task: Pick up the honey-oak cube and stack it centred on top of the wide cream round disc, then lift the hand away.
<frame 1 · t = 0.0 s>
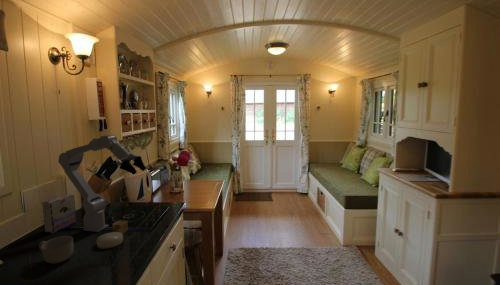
hand: (140, 171, 132), 32 cm above the counter, tool tilted 50°, fingers open, 7 cm apart
oak cube: (120, 231, 137), on the counter
teacup: (56, 259, 112), on the counter
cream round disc: (110, 243, 126), on the counter
candy box: (61, 227, 143), on the counter
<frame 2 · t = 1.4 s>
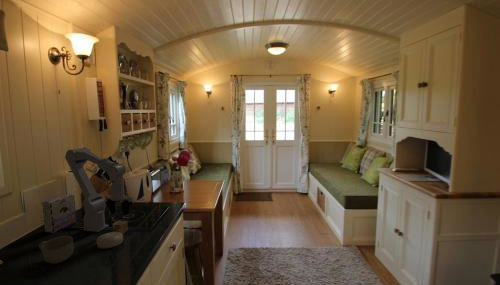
hand: (119, 214, 136), 9 cm above the counter, tool pointing down, fingers open, 7 cm apart
nothing on the counter moved.
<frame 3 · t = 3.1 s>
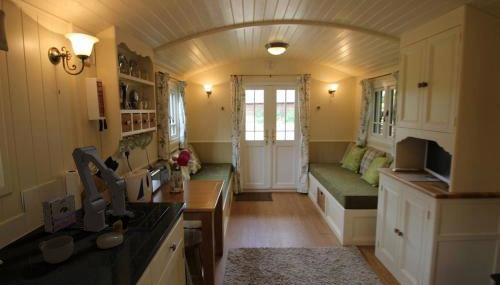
hand: (120, 228, 137), 2 cm above the counter, tool pointing down, fingers closed on oak cube, 5 cm apart
oak cube: (120, 231, 137), on the counter, touching gripper
everything else where it was.
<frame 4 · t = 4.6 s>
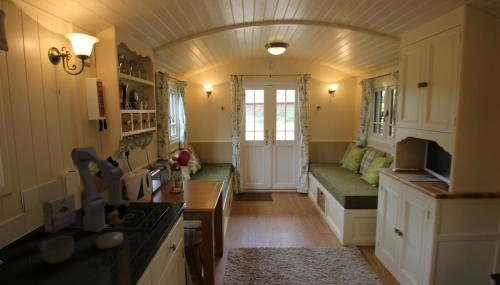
hand: (116, 218, 133), 8 cm above the counter, tool pointing down, fingers closed on oak cube, 5 cm apart
oak cube: (117, 222, 133), point 7 cm above the counter, touching gripper
everything else where it was.
when the fingers open (6 cm above the counter, at t = 6.4 s): oak cube drops 1 cm, resting on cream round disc.
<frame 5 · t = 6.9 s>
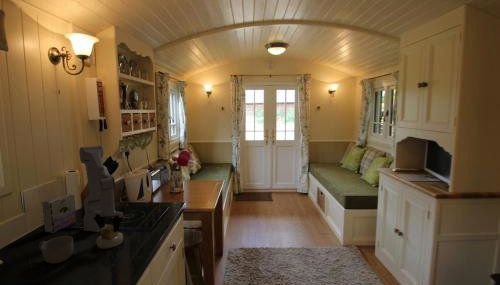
hand: (109, 230, 125), 6 cm above the counter, tool pointing down, fingers open, 7 cm apart
oak cube: (109, 237, 126), point 3 cm above the counter, touching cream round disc
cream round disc: (110, 243, 126), on the counter, touching oak cube
everything else where it was.
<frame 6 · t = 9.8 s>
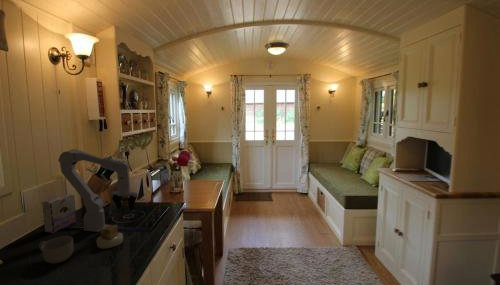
hand: (125, 209, 143), 9 cm above the counter, tool pointing down, fingers open, 7 cm apart
nothing on the counter moved.
at the end: oak cube 0.2 cm from the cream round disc (horizontally); oak cube point 2.6 cm above the counter; oak cube tilted 0° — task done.
